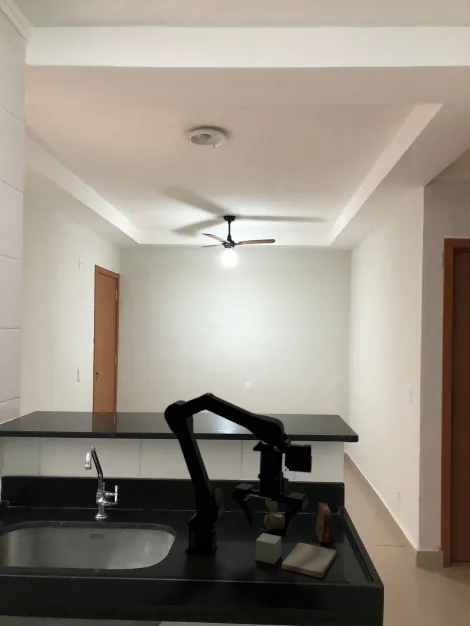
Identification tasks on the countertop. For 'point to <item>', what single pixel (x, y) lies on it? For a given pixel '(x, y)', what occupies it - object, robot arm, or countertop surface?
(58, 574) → the countertop surface
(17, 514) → the countertop surface
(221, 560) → the countertop surface
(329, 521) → the tin
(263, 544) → the sage cube
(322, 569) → the maple board
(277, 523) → the beige lumpy figure
